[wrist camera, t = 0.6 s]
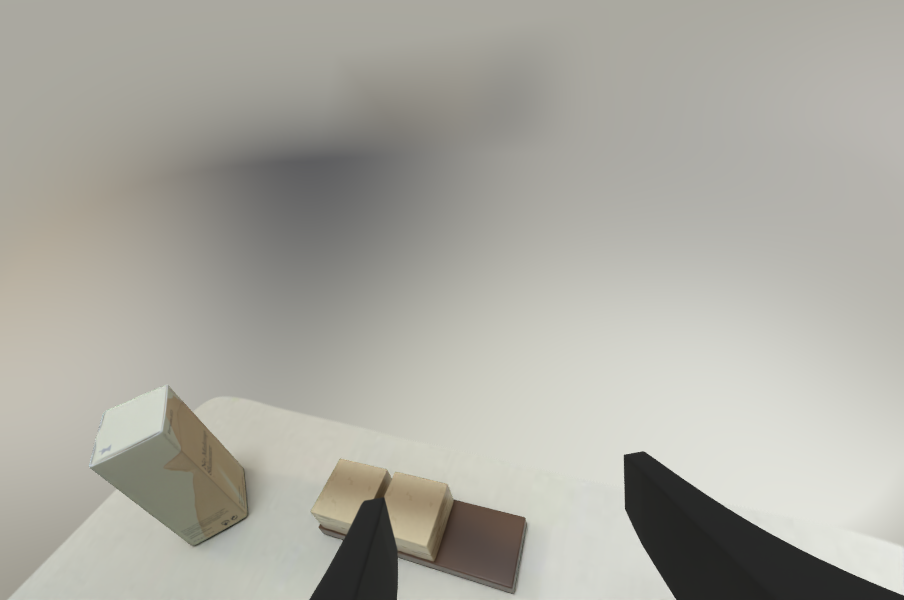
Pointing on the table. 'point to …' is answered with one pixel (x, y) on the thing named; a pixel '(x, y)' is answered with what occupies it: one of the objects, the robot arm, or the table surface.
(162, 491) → the box
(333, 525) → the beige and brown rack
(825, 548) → the table surface
